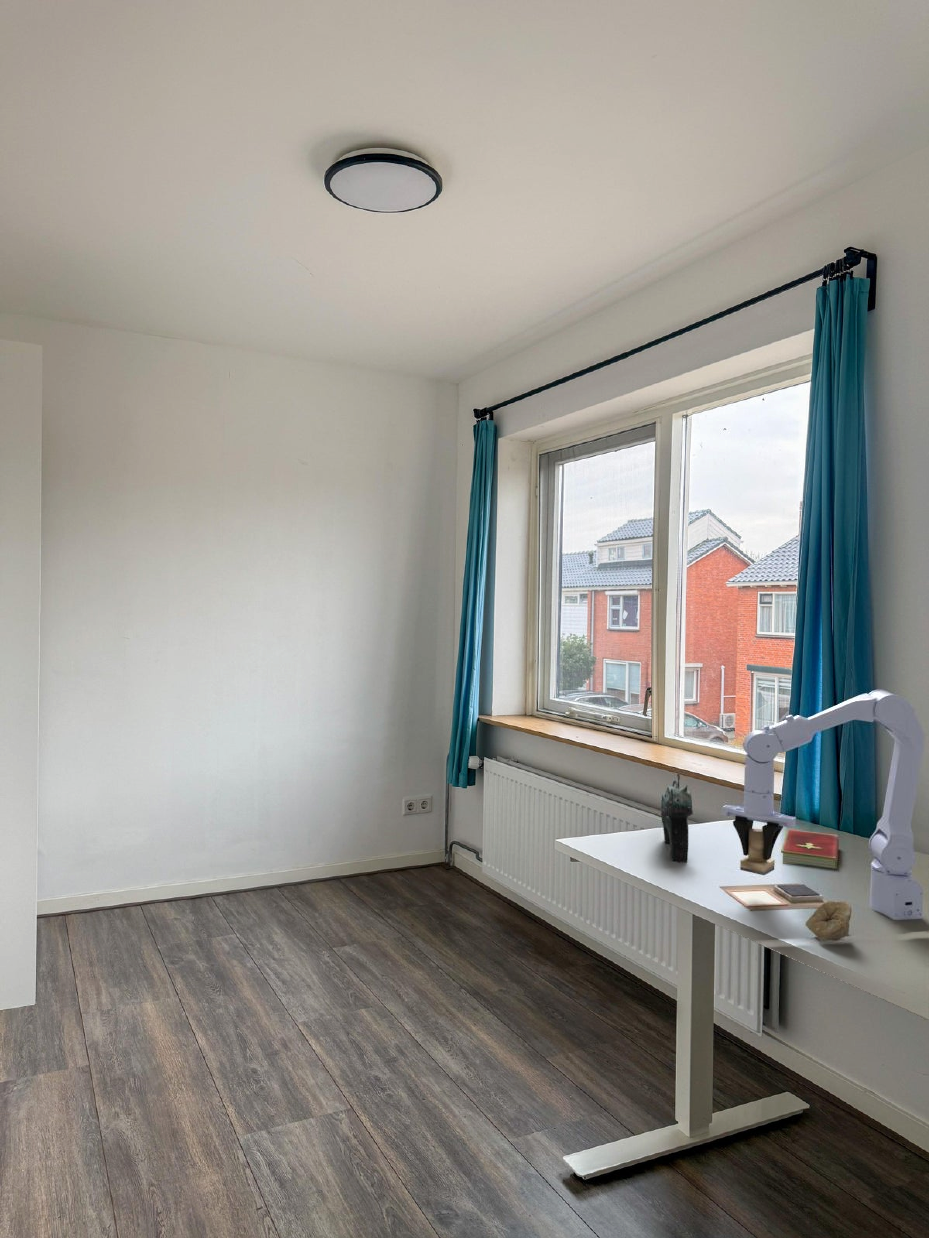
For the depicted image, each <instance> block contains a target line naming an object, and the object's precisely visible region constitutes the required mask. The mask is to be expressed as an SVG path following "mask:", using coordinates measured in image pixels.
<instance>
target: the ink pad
mask: <svg viewBox="0 0 929 1238" xmlns="http://www.w3.org/2000/svg"><path fill="white" fill-rule="evenodd" d="M798 884H799V885H776V886H774V891H775V892H777V893H778V894H780V895H781V896H783V897H784V898H786V899H787V900H789V901H790V902H809V901H823V900H824V895H823V894H821V893H819V892H817V891H816V890H814V889H812V888H811V887H809V886H807V884H804V883H803V884H801V883H798Z"/></svg>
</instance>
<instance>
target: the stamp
mask: <svg viewBox="0 0 929 1238" xmlns="http://www.w3.org/2000/svg"><path fill="white" fill-rule="evenodd" d="M763 852H764V837H763V830H762V828H752V829H749V846H748V855H747V856H746V857H743V858H742V859H740V864H739V865H740V867H739V869H740V871H743V872H748V873H751V874H756V875H759V876H760V875H761V876H766V875H767V874H769V873H771V872H773V871H775V859H772V858H770V859H769V860H764V857H763Z"/></svg>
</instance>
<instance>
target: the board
mask: <svg viewBox="0 0 929 1238" xmlns="http://www.w3.org/2000/svg"><path fill="white" fill-rule="evenodd" d="M799 884H800V883H777V884H776V883H774V884H749V885H748V884H747V885H726V886H725V885H724V886H723V885H722V886H721V885H720V886H718V887H719V888H720V889H721V890H723V891H724V892H725V890H748V889H767V890H768V891H770V892H771V893H772V894H774V895H775V896H777V897H778V898H780V899H781V900H783V901H784V902H786V903H787V904H788V905H782V906H759V907H745V906H744V905H742V906H744V907H745V908H746V909H747V910H749V911H751V912H760V911H780V910H802V909H803V910H805V909H818V907H820V906H821V905H822V904H824V903H826V902H828V901H827V900H825V899H823V901H809V902H790V901H789V900H787V899H786V898H784V897H783V896H781V895H780V894H778V893H777V892H775V891H774V886H776V885H799ZM725 893H727V892H725ZM727 894H728V893H727ZM729 896H730V897H732V896H731V895H729ZM733 899H734V900H736V899H735V898H733ZM737 902H738V903H740V902H739V901H737Z"/></svg>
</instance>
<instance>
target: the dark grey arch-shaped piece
mask: <svg viewBox="0 0 929 1238" xmlns="http://www.w3.org/2000/svg"><path fill="white" fill-rule="evenodd" d="M676 776H677V780H674V781H673V782H672V785H671V786H670V785H669V786H667V787H666V791H665V794H662V795H661V805H660V817H661V823H662V826H663V827H662V828H663V837H664V839H663V840H664V843H665V844H666V845H670V846H669V847H670V853H669V854H670V859H671V861H672V862H675V863H688V856H689V855H688V854H689V816H692V815H694V814H693V800H692V792H691V791H690V790H691V789H690V790H689V789H688V785H684V786H683V787H680V778H681V772H680V771H678V772H677V775H676Z"/></svg>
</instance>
